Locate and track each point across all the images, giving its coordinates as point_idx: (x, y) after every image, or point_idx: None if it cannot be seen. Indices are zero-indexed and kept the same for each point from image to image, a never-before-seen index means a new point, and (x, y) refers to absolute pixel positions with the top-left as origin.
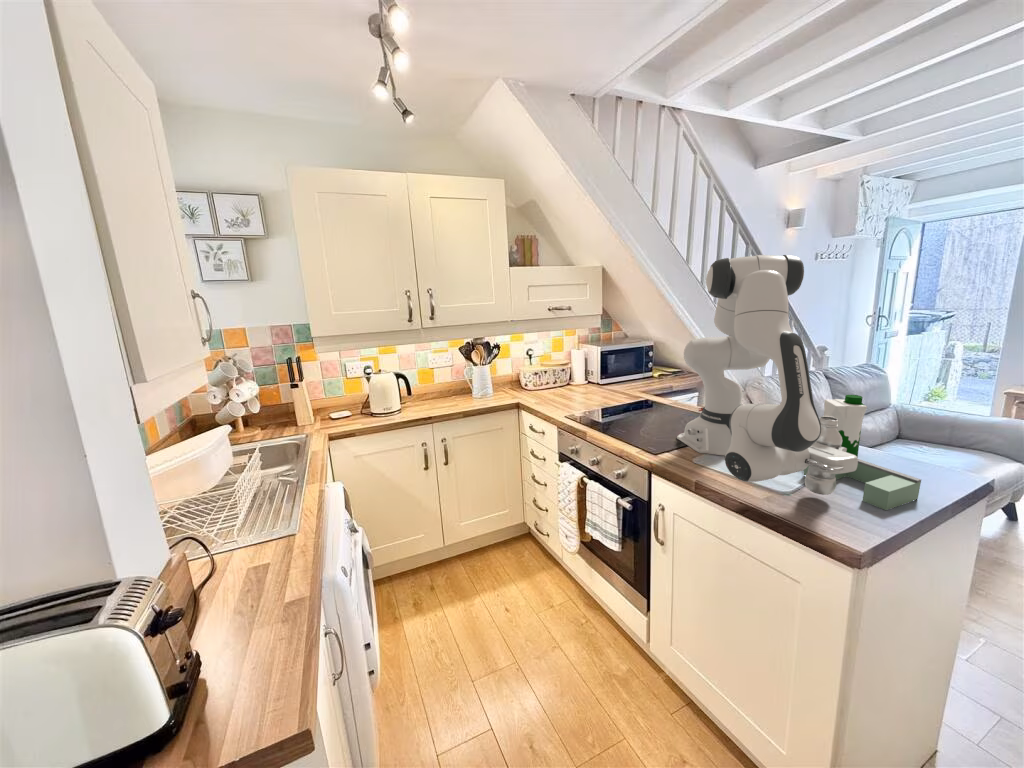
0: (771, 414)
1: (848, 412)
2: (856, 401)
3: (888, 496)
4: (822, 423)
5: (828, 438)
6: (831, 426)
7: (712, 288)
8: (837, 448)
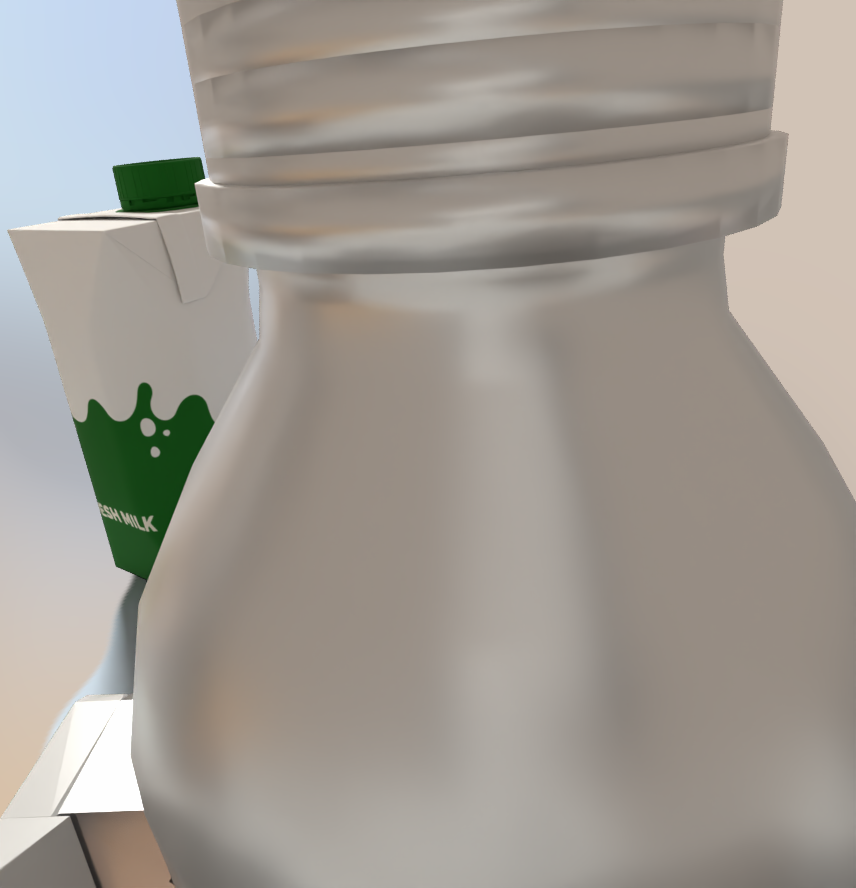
0: None
1: (183, 261)
2: (186, 185)
3: None
4: (456, 100)
5: (850, 694)
6: (778, 147)
7: None
8: None
